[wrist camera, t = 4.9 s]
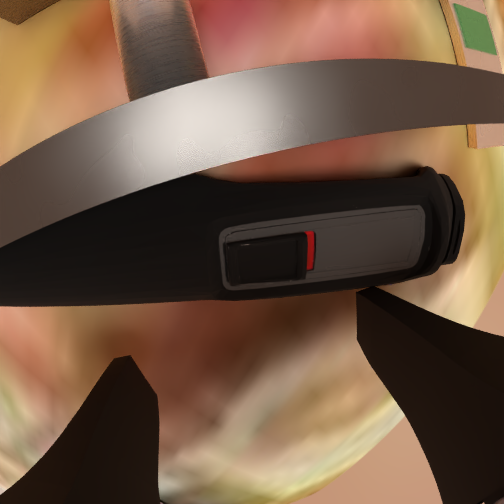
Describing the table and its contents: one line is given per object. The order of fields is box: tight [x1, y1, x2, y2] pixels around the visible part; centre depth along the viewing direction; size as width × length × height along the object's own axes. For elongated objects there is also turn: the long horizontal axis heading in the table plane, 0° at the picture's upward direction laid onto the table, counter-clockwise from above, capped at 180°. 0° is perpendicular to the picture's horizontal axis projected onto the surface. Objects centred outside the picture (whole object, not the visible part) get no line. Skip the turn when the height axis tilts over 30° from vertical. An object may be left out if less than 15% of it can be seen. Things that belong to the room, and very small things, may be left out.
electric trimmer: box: [0, 166, 465, 307], centre depth 8 cm, size 4×16×3 cm, turn 92°
